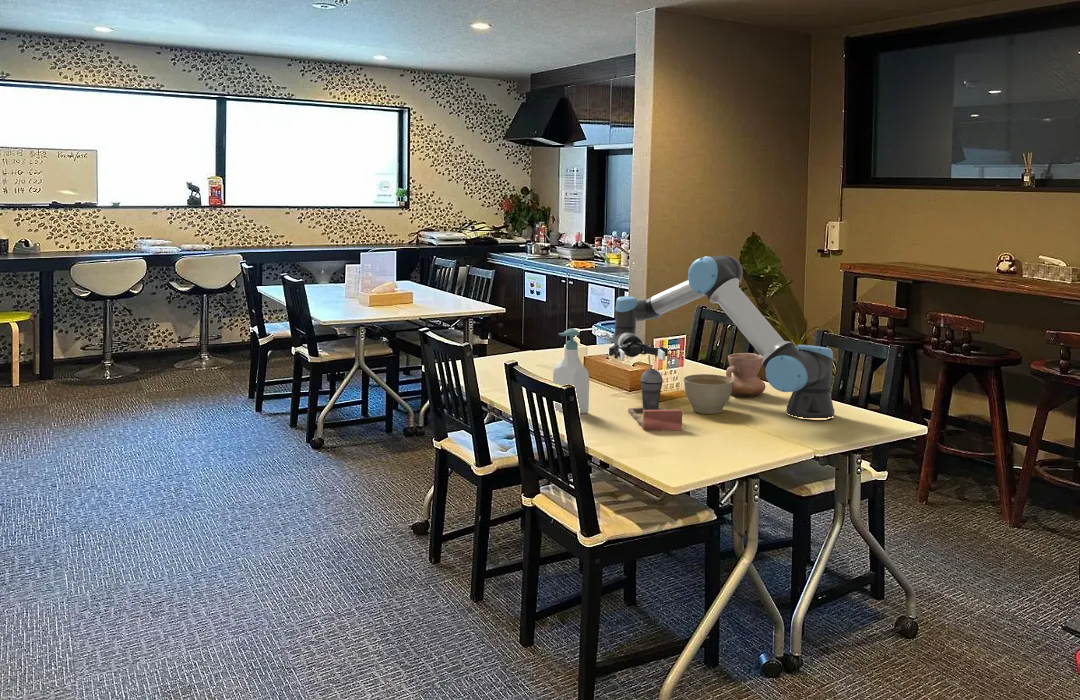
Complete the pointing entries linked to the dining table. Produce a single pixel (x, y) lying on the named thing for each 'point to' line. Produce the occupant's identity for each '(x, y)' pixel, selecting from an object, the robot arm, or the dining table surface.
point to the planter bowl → (708, 392)
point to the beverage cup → (651, 388)
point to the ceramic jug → (745, 374)
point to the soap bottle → (573, 372)
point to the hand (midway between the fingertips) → (643, 356)
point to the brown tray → (658, 418)
